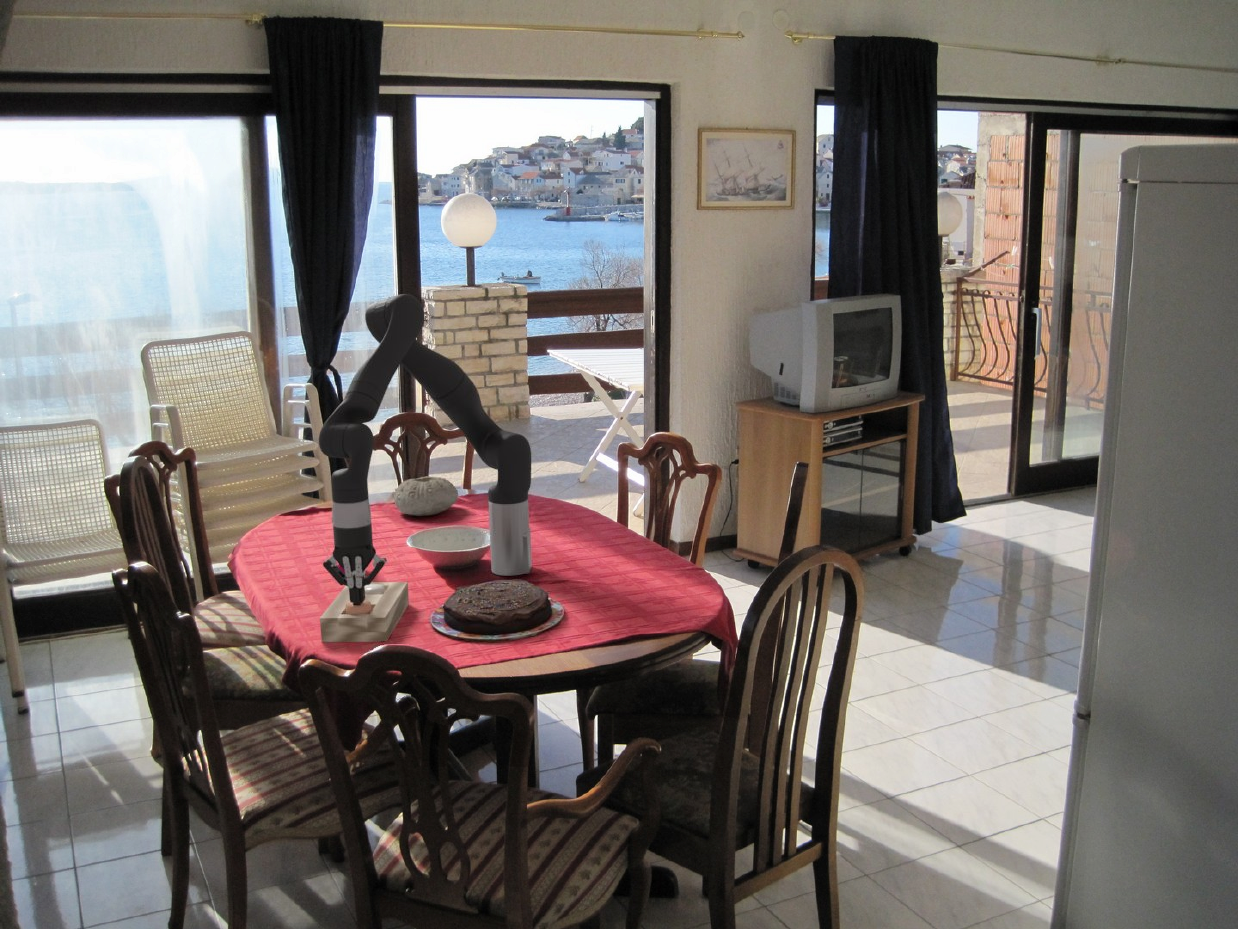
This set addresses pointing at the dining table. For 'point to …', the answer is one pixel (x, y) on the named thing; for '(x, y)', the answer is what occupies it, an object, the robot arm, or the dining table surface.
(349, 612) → the terracotta button
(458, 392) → the robot arm
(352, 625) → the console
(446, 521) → the dining table surface
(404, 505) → the decorative shell
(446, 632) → the chocolate cake
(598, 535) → the dining table surface
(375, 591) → the cream button
